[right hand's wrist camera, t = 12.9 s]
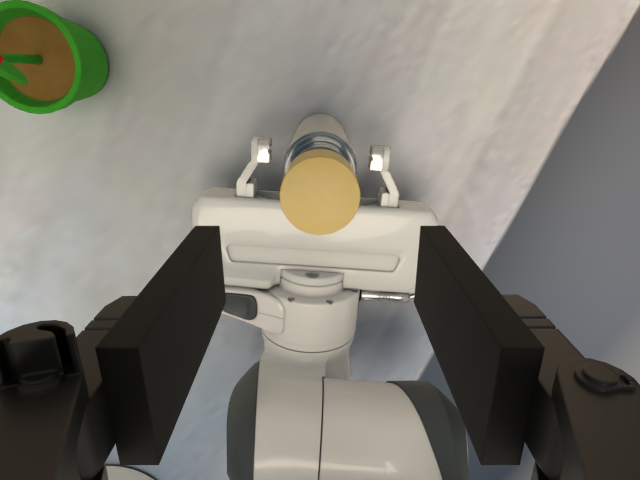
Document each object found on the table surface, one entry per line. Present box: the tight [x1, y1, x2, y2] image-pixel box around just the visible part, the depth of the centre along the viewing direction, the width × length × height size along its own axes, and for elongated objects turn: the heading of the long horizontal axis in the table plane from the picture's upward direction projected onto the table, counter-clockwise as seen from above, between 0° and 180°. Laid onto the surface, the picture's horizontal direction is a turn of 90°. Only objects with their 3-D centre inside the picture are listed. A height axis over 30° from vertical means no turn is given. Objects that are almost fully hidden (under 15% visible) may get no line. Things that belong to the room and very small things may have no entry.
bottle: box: [283, 114, 357, 175], centre depth 32 cm, size 5×5×20 cm
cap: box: [280, 149, 360, 235], centre depth 23 cm, size 4×4×2 cm
